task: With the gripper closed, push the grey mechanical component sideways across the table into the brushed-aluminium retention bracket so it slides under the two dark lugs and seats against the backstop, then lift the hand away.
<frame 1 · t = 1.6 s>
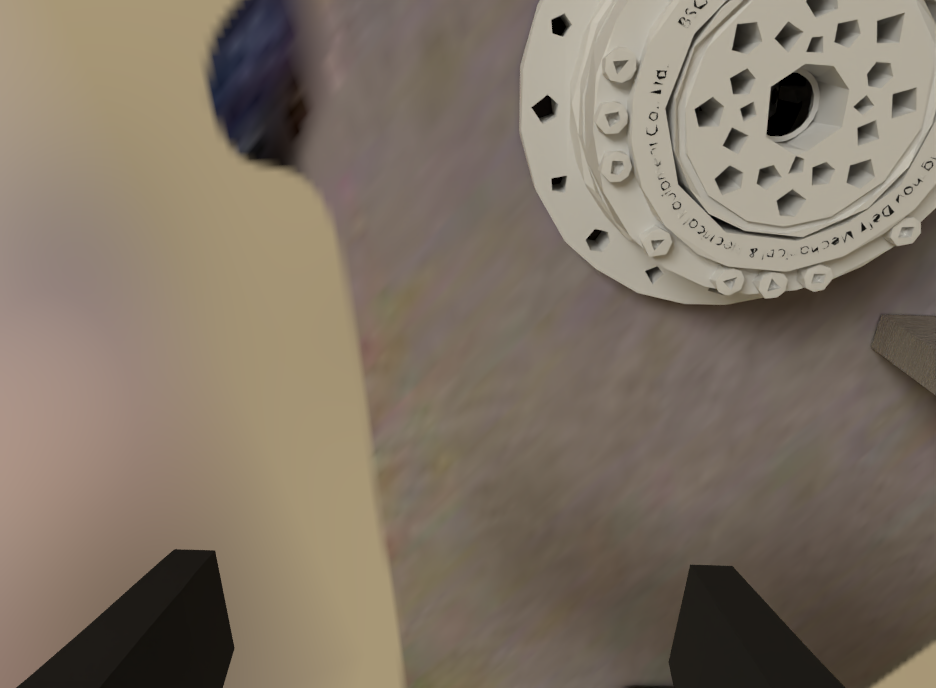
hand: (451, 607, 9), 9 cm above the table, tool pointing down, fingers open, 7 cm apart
mechanical component: (718, 94, 15), on the table
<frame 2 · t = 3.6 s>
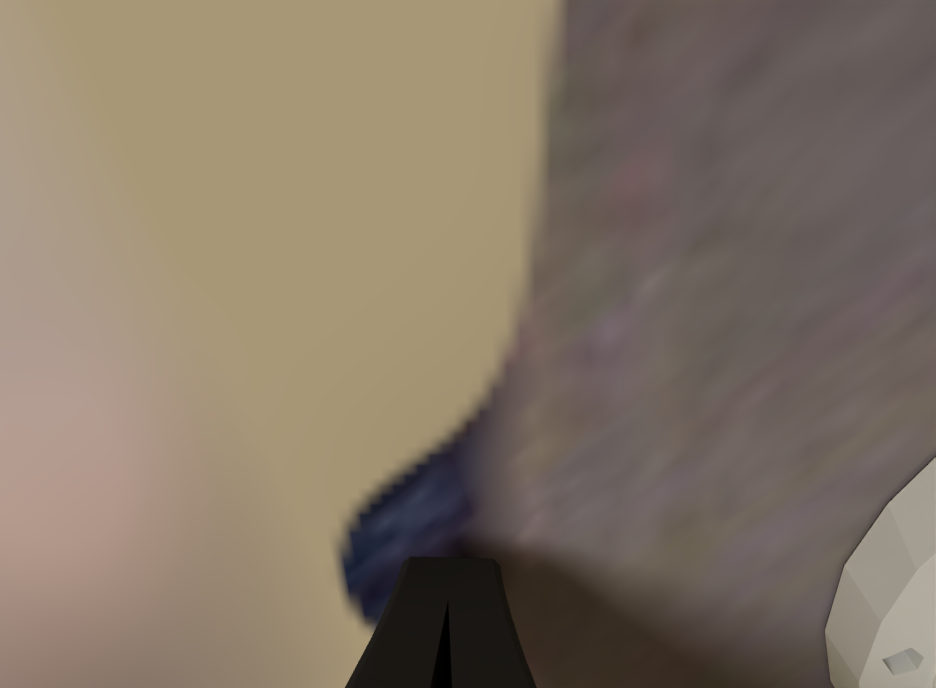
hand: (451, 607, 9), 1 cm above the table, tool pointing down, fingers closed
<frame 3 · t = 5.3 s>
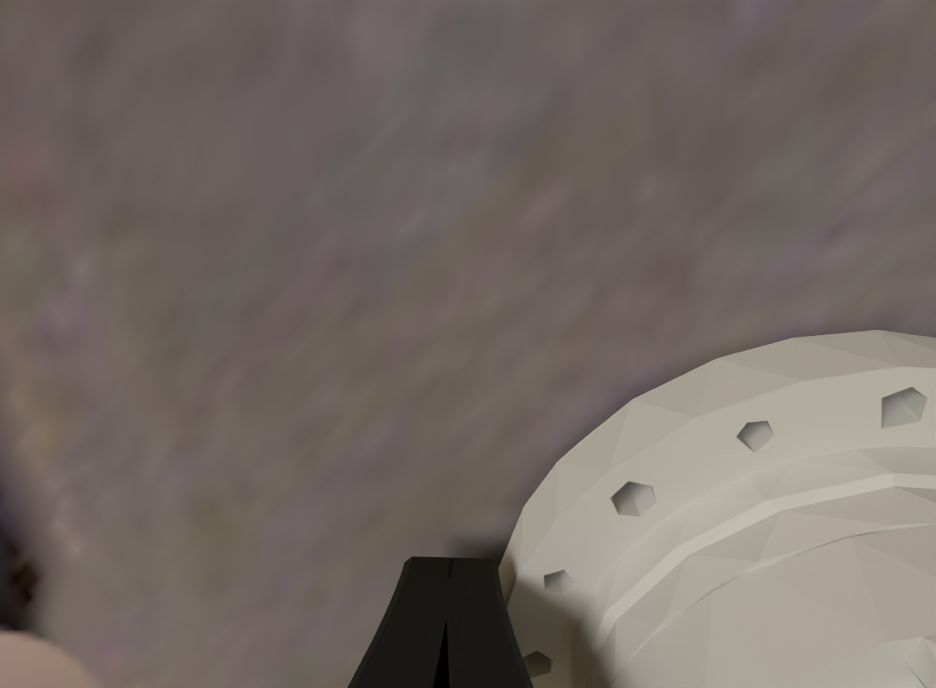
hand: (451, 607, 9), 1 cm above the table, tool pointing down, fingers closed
mechanical component: (782, 580, 11), on the table
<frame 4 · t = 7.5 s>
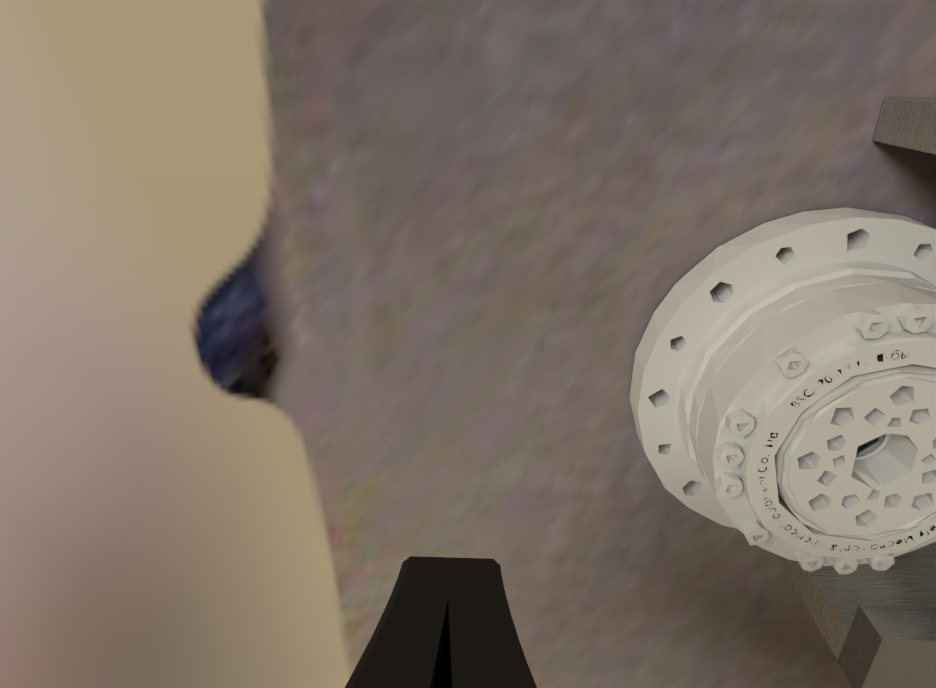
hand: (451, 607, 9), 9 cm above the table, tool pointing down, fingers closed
mechanical component: (794, 369, 19), on the table
bracket: (849, 350, 18), on the table
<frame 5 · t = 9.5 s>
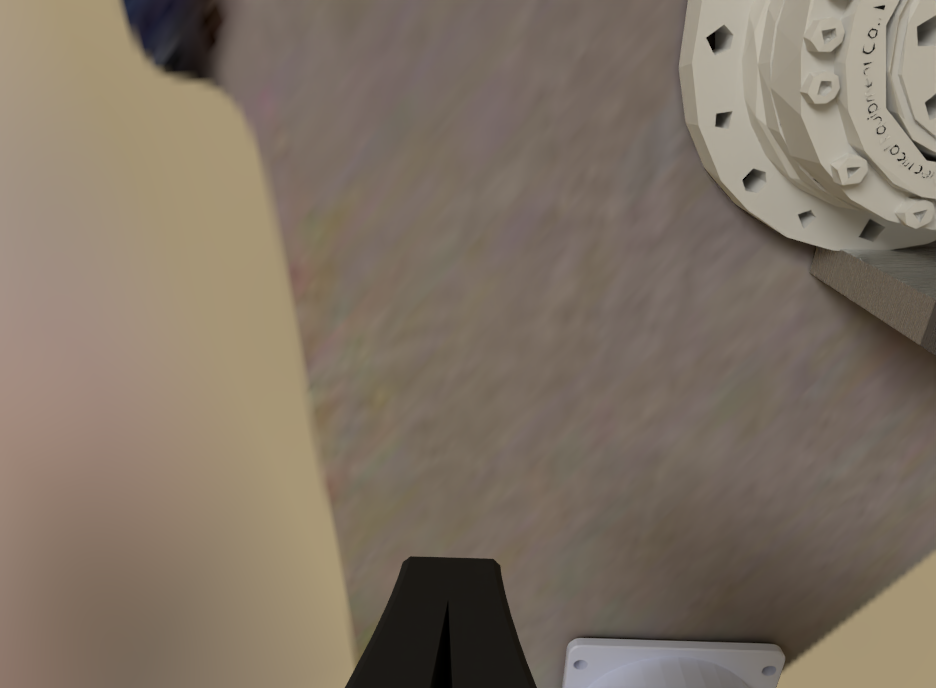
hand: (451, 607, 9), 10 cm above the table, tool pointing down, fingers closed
mechanical component: (879, 37, 15), on the table
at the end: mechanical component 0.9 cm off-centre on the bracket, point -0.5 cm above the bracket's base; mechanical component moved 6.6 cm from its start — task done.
